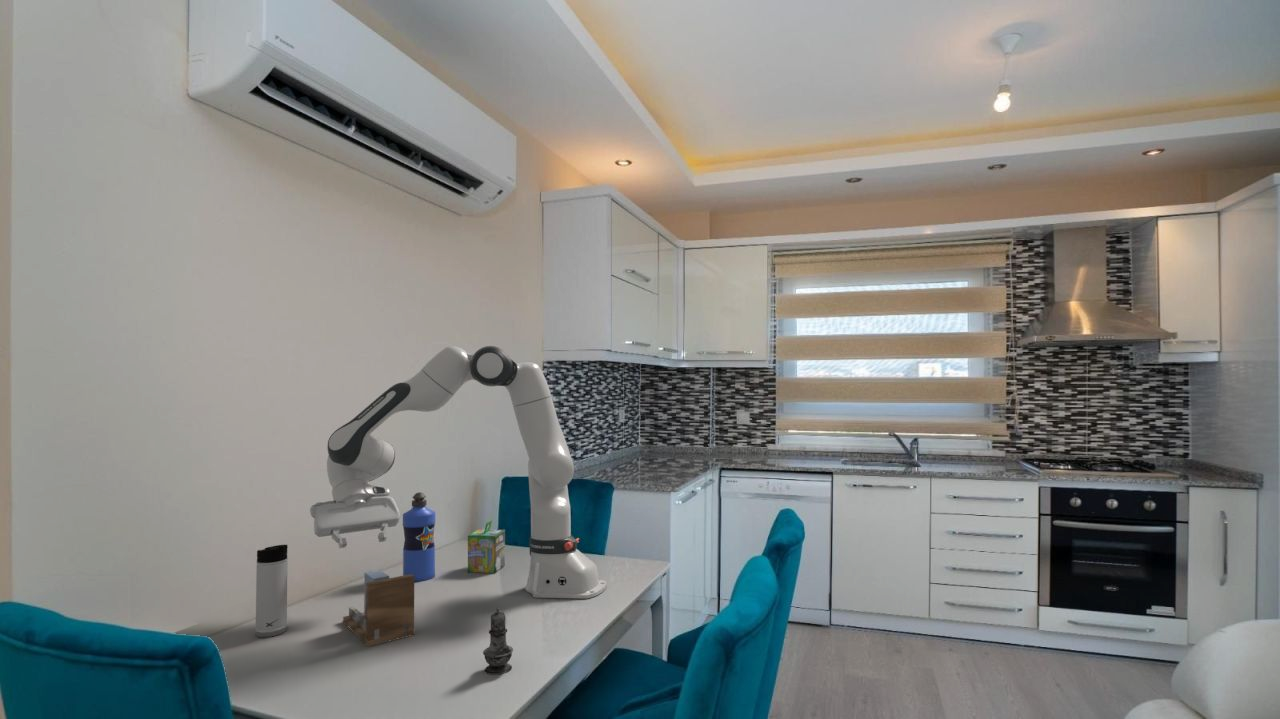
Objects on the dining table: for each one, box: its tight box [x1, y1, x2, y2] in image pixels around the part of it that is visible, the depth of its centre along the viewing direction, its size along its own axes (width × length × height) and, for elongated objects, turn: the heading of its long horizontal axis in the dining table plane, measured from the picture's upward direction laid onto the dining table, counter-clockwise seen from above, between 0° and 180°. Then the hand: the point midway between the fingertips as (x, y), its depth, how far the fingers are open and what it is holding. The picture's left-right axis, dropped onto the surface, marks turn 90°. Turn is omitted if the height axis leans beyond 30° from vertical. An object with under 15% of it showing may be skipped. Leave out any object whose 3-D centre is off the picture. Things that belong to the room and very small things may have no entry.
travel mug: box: [255, 544, 289, 638], centre depth 149 cm, size 6×7×20 cm
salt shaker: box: [482, 607, 514, 676], centre depth 127 cm, size 6×6×12 cm
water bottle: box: [402, 492, 436, 583], centre depth 192 cm, size 9×9×25 cm
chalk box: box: [467, 519, 506, 574], centre depth 200 cm, size 9×9×15 cm
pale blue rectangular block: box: [363, 569, 390, 617], centre depth 151 cm, size 7×4×11 cm, turn 40°
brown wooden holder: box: [342, 574, 415, 647], centre depth 150 cm, size 20×10×13 cm, turn 39°
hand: (363, 543), depth 160 cm, fingers open, 8 cm apart
